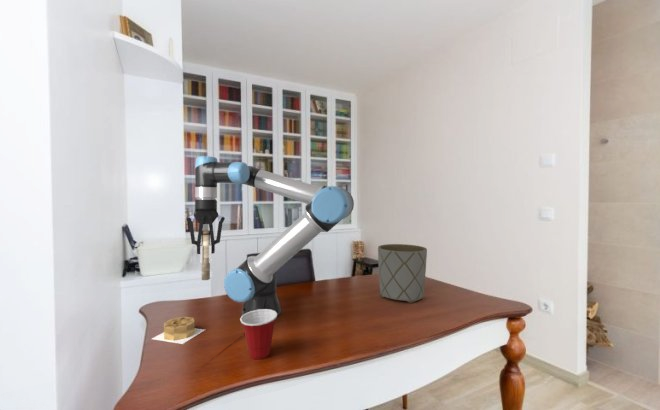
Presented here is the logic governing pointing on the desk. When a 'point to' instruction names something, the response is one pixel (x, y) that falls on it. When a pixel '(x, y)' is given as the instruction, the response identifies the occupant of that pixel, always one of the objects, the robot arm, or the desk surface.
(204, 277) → the stone peg
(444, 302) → the desk surface
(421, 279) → the planter
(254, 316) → the plastic cup
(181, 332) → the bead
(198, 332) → the mat
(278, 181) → the robot arm
